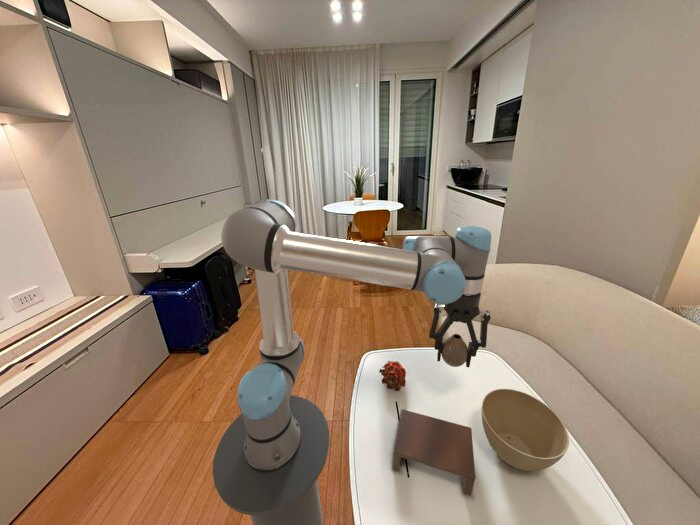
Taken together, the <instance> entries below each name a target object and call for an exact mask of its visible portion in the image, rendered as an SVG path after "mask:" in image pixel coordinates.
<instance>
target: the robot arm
mask: <svg viewBox="0 0 700 525" xmlns="http://www.w3.org/2000/svg"><path fill="white" fill-rule="evenodd" d="M296 227H297V220H296V216H295V214H294V212H293V211H292V209H291V208H290V207H289V206H288V205H287V204H286V203H284V202H282V201H280V200H277V199H269V198H268V199H263V200H258V201H255V202H254V203H253V204H251V205H248V206H246V207H244V208H241V209H238V210H237V211H235V212H233V213H231V214H230V215H229V216H227V218H226V219H225V221H224V223H223V225H222V228H221V232H220V233H221V234H220V237H221V243H222V245H223V249H224V251H225V252H226V254H227V255H228V256H229V257H230V258H231V259H232V260H233V261H235V262H236V263H237V264H239V265H242V266H243V267H246V268H249V269H251V270H253V273H254V280H255V288H256V294H257V300H258V301H257V302H258V309H259V313H260V314H259V315H260V322H261V329H262V336H263V337H261V339H260V341H259V343H258V350H259V357H260V360H259V363H258V364H257V365H255V366H254V367H253V369H249V370H248V371H247V372H246V373H245V374H243V376H242V377H241V380H240V381H239V383H238V386H237V404H238V408H239V411H240V414H242V417H243V420H244V424H245V428H246V431H247V433H246V438H245V443H244V454H245V457H246V461H247V463H248V464H249V466H250V467H251V468H253V469H254V470H256V471H259V472H273V471H276V470H278V469H280V468H282V467H284V466H285V465H286V464H288V463H289V462H290V461H291V460H292V459H293V457H294V456H295V455H296V453H297V451H298V449H299V447H300V443H301V431H300V426H299V424H298V422H297V421H296V419H295V418H294V417H293V415H292V414H291V411H290V405H289V399H290V395H291V396H292V392H293V389H294V386H295V383H296V380H297V378H298V374H299V372H300V369H301V366H302V364H303V361H304V358H305V350H306V349H305V345H304V342H303V340H302V339H301V338H300V336H299V334H298V333H297V332H296V331H295V329H294V318H293V306H292V294H291V283H290V271H292V272H293V271H294V272H300V273H305V274H312V275H317V276H324V277H331V278H336V279H343V280H349V281H353V282H354V281H355V282H362V283H367V284H373V285H379V286H386V287H393V288H397V289H404V290H405V289H406V290H409V291H410V290H411V291H415V292H420V293H423V294H424V295H425V296H426V298H427V299H429V300H430V302H433V303H434V304H433V317H432V320H431V324H430V328H429V331H428V337H429V339H432V340H433V339H434V350H435V351H437V355H436V356H437V358H436V361H437V362H441V358H442V355H441V351H442V345H443V343H444V336H445V334H446V333H447V332H448V330H449V328H450V327H451V326H452V325H453V324H454V322H455V323H462V324H466V327H467V330H468V334H469V337H470V341H468V346H467V348H468V357H467V360H466V362H465V367H466V368H470V365H471V360H472V357H474V358H475V357H476V356H477V352H478V351H479V348H482V349H486V347H487V341H488V340H487V339H488V326H489V325H488V324H489V322H490V320H491V318H492V317H491V314H490V310H487V309H486V310H481V309H480V307H479V306H480V302H481V296H482V293H481V292H482V290H483V285H484V280H485V275H486V270H487V263H488V259H489V255H490V252H491V244H492V233H491V231H490V230H489V229H488V228H485V227H481V226H475V225H465V226H460V227H458V228H457V229H456V231H455V234H454V235H452V236H451V235H450V236H436V235H435V236H434V235H433V236H431V235H429V236H428V235H426V236H425V235H415V236H414V235H413V236H406V237H405V238H404V239H403V242H402V248H397V247H390V246H384V245H377V244H372V243H365V242H359V241H353V240H348V239H347V240H346V239H340V238H334V237H328V236H321V235H315V234H309V233H302V232H297V231H296ZM443 311H444V312H445V313H446V317H445V319H444V320H443V322H442V324H441V326H440V327H439V328H438V330H437V327H438V323H439V319H440V315H442V314H443ZM478 316H479V320H480V330H479V331H480V332H479V333H480V334H479V339H478V338H477V335H476V331H475V328H474V324H473V320H474V319H475V318H477V317H478ZM436 330H437V331H436Z"/></svg>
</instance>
